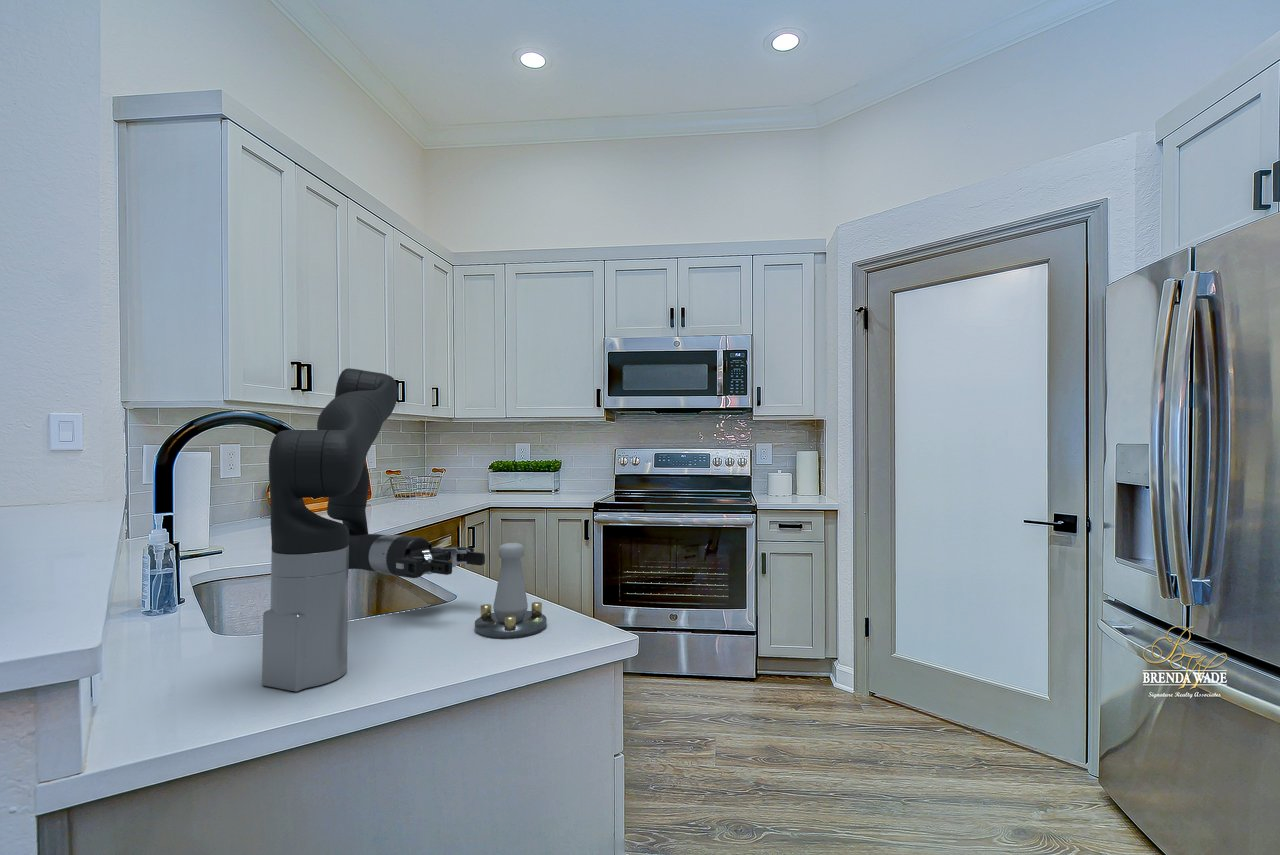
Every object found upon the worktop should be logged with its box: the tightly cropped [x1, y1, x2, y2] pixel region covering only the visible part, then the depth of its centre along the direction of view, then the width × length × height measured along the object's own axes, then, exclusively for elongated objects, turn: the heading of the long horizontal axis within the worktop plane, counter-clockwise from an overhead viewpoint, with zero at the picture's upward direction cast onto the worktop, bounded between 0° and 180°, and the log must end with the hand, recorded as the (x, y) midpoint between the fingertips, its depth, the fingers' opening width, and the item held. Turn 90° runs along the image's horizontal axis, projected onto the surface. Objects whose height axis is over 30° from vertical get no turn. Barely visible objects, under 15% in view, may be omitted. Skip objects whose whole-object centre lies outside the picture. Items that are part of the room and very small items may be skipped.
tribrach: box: [474, 601, 548, 640], centre depth 103 cm, size 12×12×3 cm
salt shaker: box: [493, 542, 529, 623], centre depth 103 cm, size 6×6×13 cm
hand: (467, 563), depth 107 cm, fingers open, 8 cm apart
